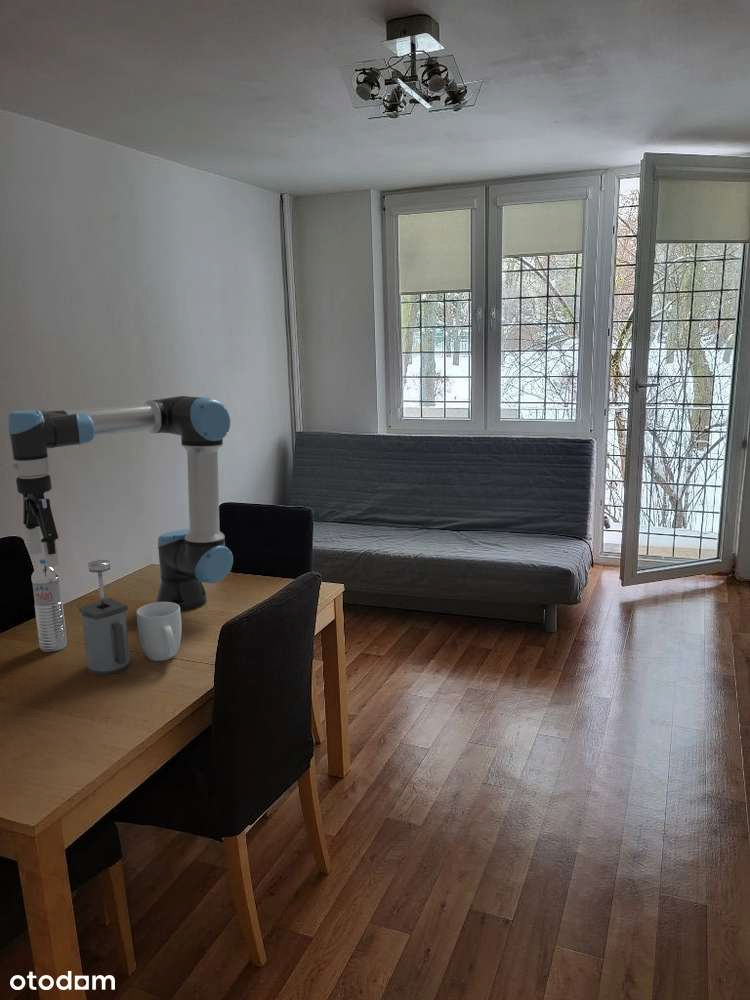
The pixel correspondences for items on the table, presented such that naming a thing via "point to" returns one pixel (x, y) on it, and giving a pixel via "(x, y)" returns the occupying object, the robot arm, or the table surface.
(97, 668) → the carafe
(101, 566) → the plunger
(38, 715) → the table surface
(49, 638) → the water bottle
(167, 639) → the mug
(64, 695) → the table surface
